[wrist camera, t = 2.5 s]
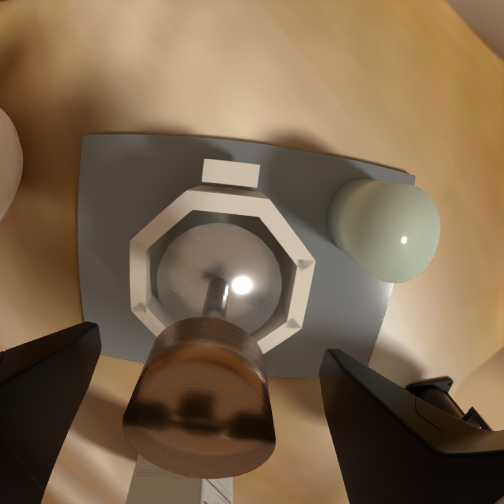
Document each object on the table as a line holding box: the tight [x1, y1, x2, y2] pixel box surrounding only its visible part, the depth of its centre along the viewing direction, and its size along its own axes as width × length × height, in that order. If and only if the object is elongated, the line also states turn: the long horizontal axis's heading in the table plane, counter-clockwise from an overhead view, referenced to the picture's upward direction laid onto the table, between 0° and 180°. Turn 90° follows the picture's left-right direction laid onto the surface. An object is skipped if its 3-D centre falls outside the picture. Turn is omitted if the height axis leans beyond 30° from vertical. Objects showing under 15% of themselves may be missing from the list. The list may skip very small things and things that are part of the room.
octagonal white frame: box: [130, 159, 316, 354], centre depth 16 cm, size 8×10×5 cm
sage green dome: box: [327, 179, 440, 283], centre depth 15 cm, size 5×5×5 cm
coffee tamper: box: [122, 222, 282, 479], centre depth 9 cm, size 6×6×9 cm
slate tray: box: [78, 134, 415, 378], centre depth 19 cm, size 22×16×1 cm
